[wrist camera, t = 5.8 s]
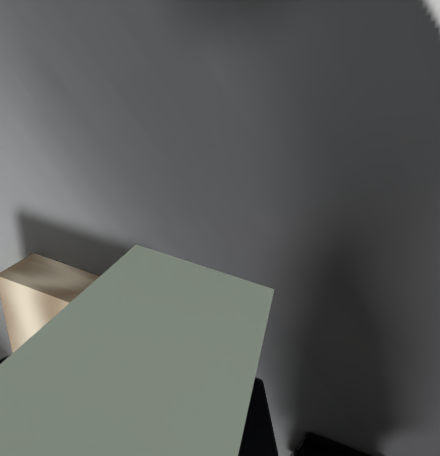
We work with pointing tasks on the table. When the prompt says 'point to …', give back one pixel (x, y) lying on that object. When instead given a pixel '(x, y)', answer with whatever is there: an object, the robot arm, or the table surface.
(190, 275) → the sage block
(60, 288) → the birch base block
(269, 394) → the table surface
